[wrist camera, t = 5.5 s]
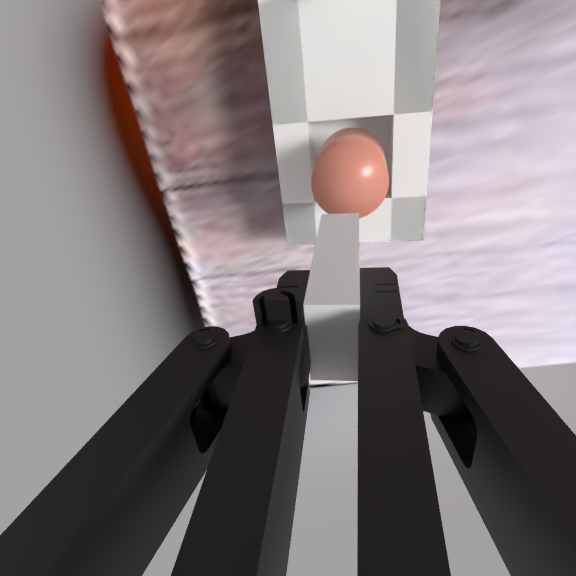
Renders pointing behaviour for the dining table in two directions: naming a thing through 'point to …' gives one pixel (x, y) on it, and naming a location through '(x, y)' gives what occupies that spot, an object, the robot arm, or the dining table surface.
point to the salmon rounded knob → (350, 173)
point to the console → (352, 101)
